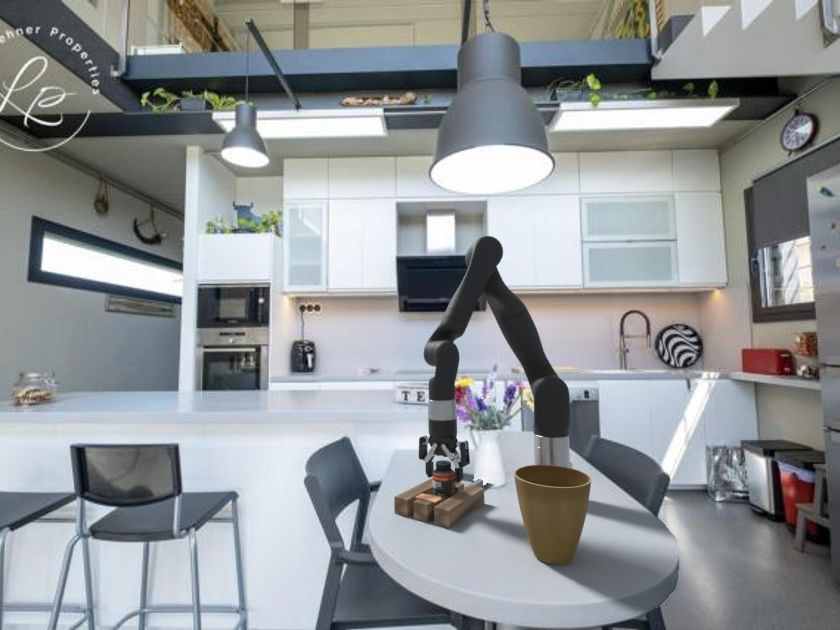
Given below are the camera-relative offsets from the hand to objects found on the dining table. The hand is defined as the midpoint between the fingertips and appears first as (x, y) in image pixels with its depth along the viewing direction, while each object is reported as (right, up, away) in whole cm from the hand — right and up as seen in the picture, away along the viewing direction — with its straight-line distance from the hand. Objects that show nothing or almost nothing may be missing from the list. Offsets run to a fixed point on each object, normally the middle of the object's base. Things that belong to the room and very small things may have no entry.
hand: (444, 479), depth 112 cm
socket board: (-1, -7, -1) cm, 7 cm away
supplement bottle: (0, -7, 0) cm, 7 cm away
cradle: (+6, -8, +16) cm, 19 cm away
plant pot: (+21, -6, -26) cm, 34 cm away
